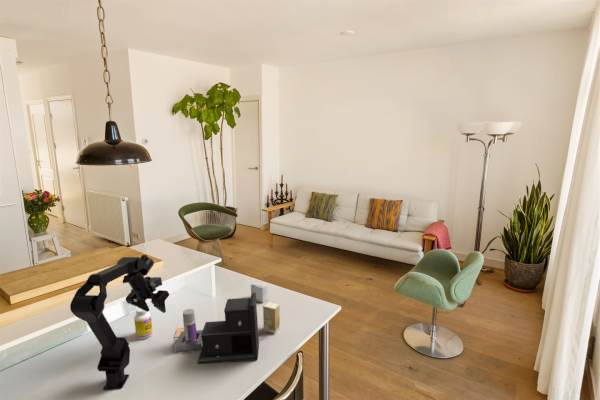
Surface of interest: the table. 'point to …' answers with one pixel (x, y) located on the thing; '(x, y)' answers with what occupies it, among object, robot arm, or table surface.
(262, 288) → the medicine box
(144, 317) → the supplement bottle
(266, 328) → the skincare box
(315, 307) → the table surface
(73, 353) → the table surface
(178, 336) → the mat
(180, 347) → the steel collar
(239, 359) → the black drawer cabinet
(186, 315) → the container
